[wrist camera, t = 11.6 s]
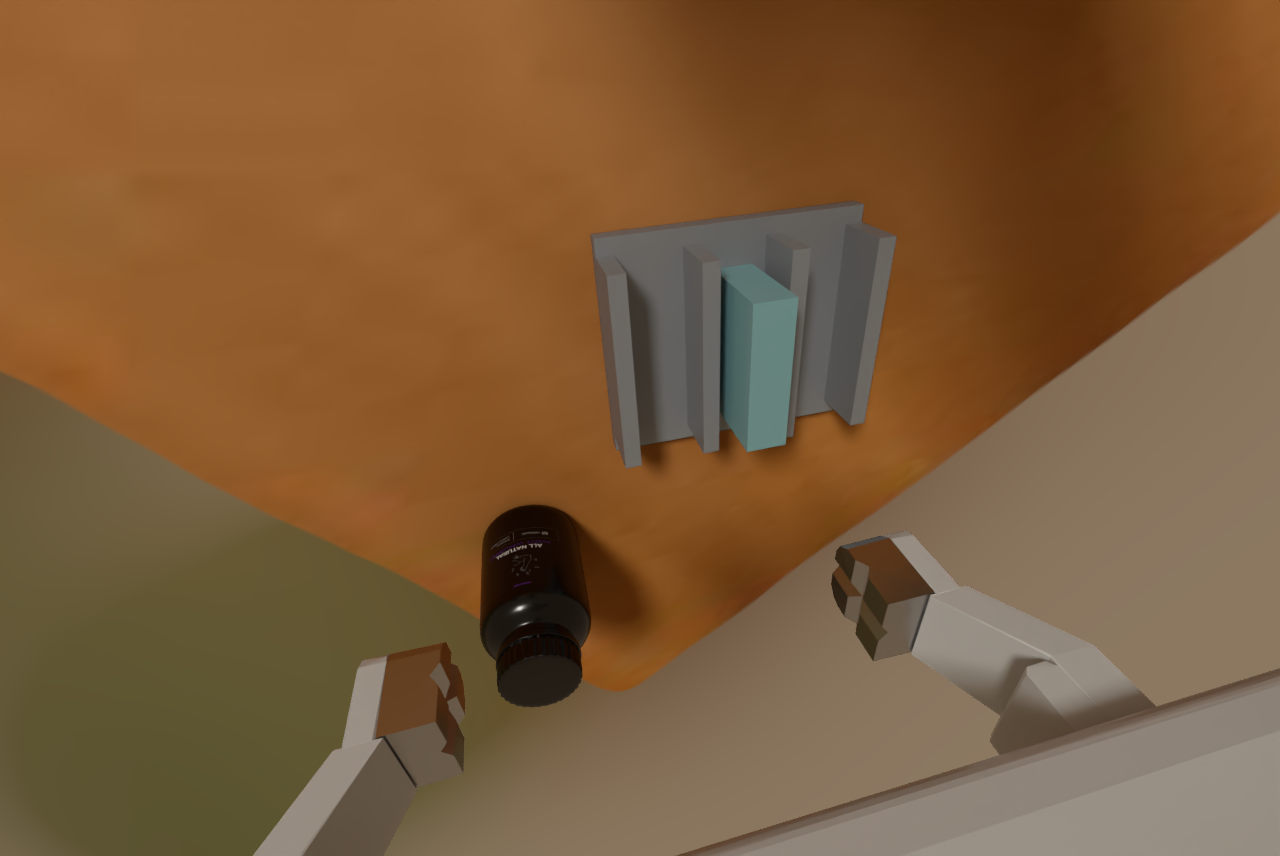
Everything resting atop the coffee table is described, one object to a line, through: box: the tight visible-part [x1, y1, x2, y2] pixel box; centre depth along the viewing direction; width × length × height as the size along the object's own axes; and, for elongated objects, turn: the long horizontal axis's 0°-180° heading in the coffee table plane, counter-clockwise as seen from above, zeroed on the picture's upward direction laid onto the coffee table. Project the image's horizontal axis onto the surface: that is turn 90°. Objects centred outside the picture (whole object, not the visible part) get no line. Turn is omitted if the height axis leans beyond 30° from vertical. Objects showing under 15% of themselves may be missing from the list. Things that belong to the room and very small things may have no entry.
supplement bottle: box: [480, 505, 591, 707], centre depth 37 cm, size 7×7×12 cm
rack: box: [591, 201, 897, 468], centre depth 35 cm, size 14×16×4 cm
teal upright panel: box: [719, 264, 798, 452], centre depth 33 cm, size 9×2×6 cm, turn 4°
